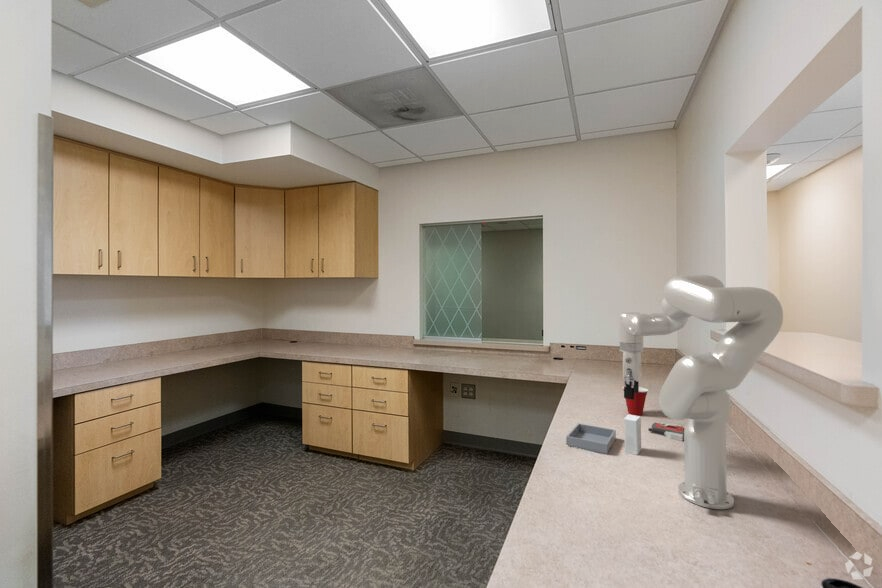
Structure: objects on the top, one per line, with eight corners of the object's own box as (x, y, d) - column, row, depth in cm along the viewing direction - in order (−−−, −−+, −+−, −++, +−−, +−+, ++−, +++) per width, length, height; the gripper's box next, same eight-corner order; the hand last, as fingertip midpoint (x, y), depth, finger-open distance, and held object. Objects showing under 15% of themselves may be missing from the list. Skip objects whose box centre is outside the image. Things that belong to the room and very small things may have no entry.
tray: (607, 454, 132) (606, 444, 132) (566, 445, 140) (566, 436, 140) (615, 439, 145) (615, 430, 145) (578, 431, 153) (578, 423, 153)
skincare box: (628, 446, 138) (628, 413, 138) (641, 449, 135) (641, 416, 135) (624, 452, 133) (623, 418, 133) (637, 455, 131) (637, 421, 131)
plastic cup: (654, 415, 170) (654, 388, 170) (637, 419, 166) (636, 391, 166) (634, 408, 180) (634, 383, 180) (617, 411, 176) (616, 386, 176)
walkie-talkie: (646, 434, 150) (708, 447, 137) (646, 423, 150) (708, 435, 137) (652, 428, 156) (711, 440, 143) (651, 417, 156) (711, 428, 143)
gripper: (639, 352, 125) (639, 403, 125) (646, 344, 139) (646, 390, 140) (615, 350, 129) (615, 399, 130) (623, 343, 143) (624, 387, 144)
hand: (631, 395), depth 135 cm, fingers open, 9 cm apart
